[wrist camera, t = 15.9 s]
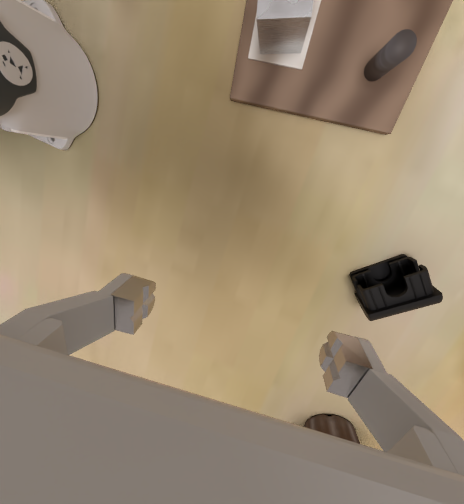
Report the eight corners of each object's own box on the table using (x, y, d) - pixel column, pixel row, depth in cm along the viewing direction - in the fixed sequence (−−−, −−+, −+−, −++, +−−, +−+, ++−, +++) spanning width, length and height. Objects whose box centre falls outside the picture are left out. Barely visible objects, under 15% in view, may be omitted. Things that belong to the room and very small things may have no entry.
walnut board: (231, 100, 31) (220, 84, 24) (256, -41, 25) (251, -115, 18) (385, 134, 30) (419, 127, 23) (449, -7, 24) (521, -72, 17)
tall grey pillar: (260, 54, 27) (256, 19, 20) (264, -1, 25) (261, -61, 18) (300, 53, 26) (311, 16, 20) (308, -4, 24) (322, -66, 18)
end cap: (358, 303, 41) (373, 329, 35) (345, 273, 39) (359, 295, 33) (418, 285, 37) (447, 310, 31) (408, 251, 35) (436, 271, 29)
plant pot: (284, 428, 59) (288, 517, 45) (318, 398, 52) (337, 491, 38) (336, 453, 60) (357, 548, 45) (376, 426, 53) (417, 528, 38)
